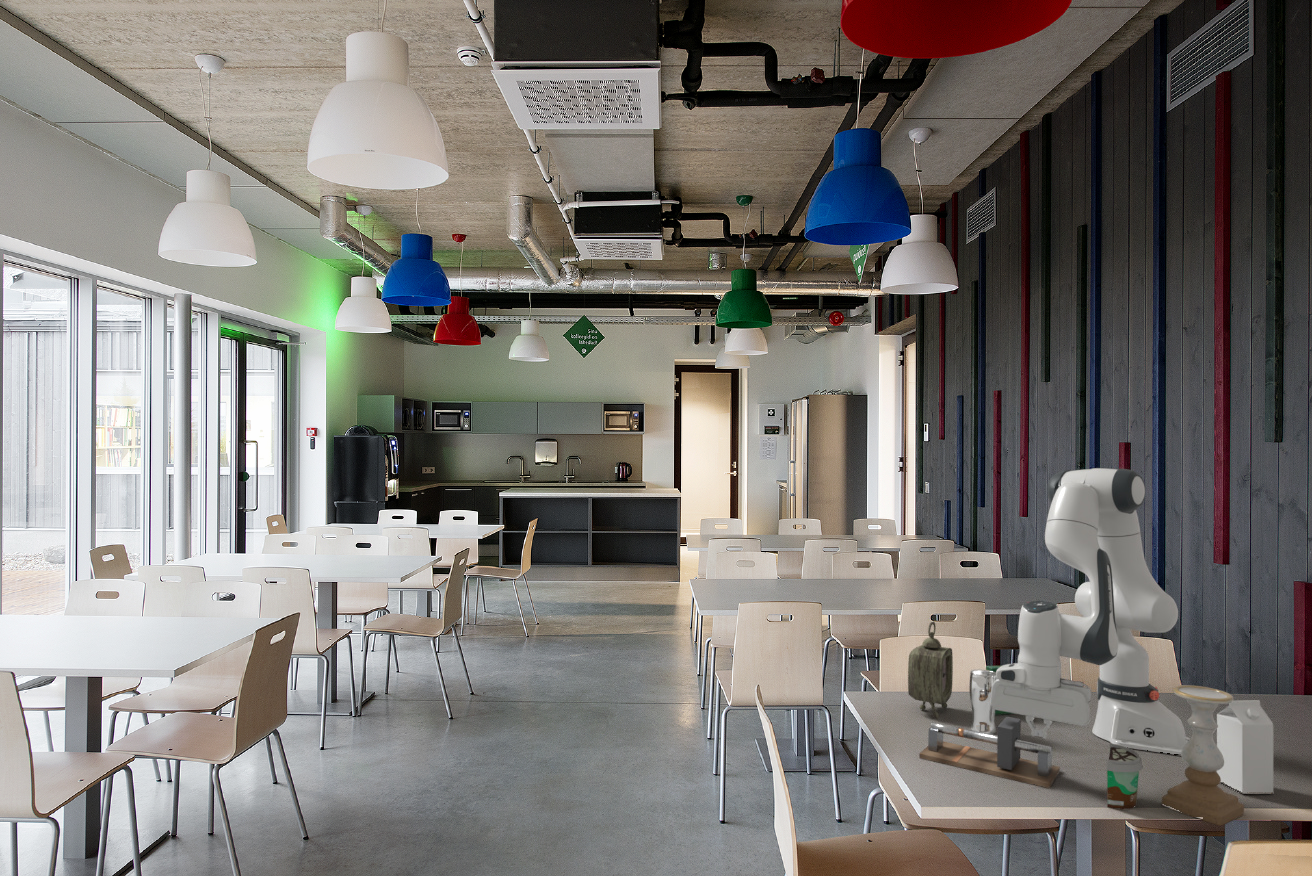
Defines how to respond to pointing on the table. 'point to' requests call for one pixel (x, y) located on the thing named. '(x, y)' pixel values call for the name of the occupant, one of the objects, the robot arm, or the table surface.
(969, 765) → the board
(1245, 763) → the milk carton
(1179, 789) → the candle holder
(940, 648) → the tabletop clock
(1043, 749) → the linear slide rail
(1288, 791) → the table surface
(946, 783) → the table surface
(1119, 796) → the food container
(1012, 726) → the collar
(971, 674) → the beer glass
